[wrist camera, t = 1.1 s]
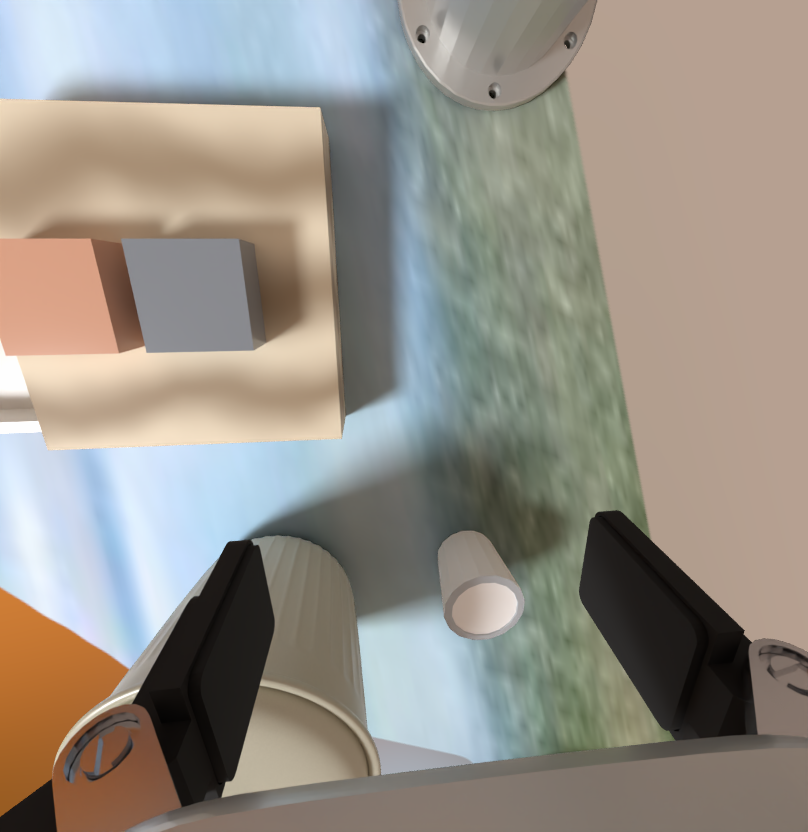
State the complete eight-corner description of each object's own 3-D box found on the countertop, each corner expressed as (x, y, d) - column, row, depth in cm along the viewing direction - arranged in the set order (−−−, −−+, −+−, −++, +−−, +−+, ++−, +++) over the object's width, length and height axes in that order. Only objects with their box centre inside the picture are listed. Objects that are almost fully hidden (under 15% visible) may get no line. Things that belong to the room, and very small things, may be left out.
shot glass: (459, 513, 37) (478, 563, 30) (512, 544, 39) (542, 598, 32) (417, 563, 39) (427, 621, 32) (470, 591, 40) (490, 652, 34)
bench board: (12, 132, 25) (-71, 96, 20) (328, 138, 26) (320, 107, 22) (96, 425, 31) (47, 450, 27) (345, 416, 33) (341, 438, 28)
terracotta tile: (15, 244, 23) (-35, 238, 20) (124, 244, 23) (90, 238, 20) (47, 347, 24) (5, 355, 22) (147, 345, 25) (119, 353, 22)
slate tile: (151, 243, 23) (120, 238, 20) (254, 243, 24) (238, 238, 21) (171, 344, 25) (146, 352, 22) (266, 343, 26) (253, 350, 23)
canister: (373, 648, 42) (378, 981, 22) (197, 655, 40) (29, 1024, 20) (378, 501, 36) (390, 773, 16) (173, 502, 34) (-99, 807, 14)
